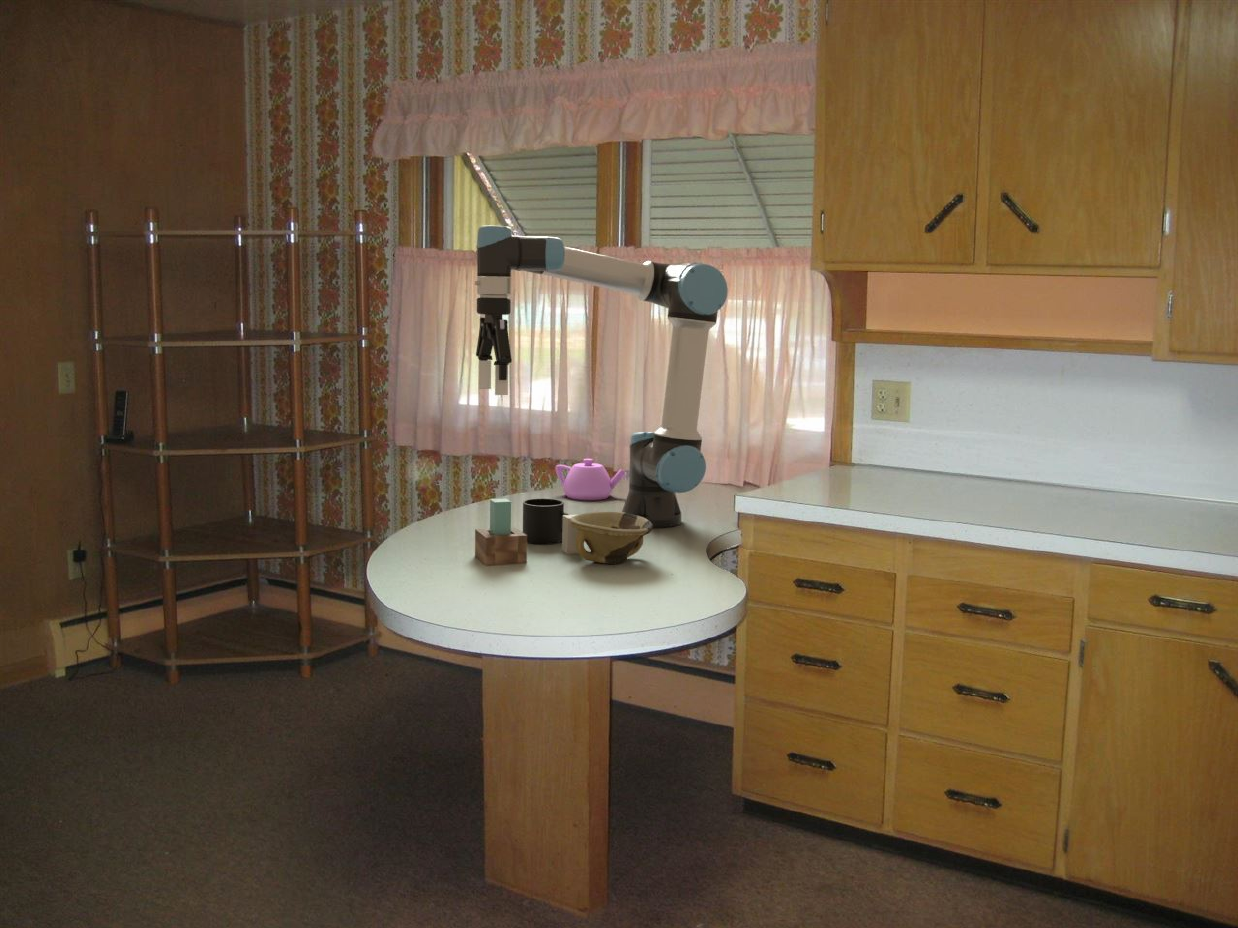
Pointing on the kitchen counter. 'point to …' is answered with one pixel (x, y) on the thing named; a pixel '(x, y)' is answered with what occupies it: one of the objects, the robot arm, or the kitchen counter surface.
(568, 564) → the kitchen counter surface
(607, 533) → the bowl
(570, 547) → the peg mid
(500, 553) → the socket block
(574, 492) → the teapot
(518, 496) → the kitchen counter surface
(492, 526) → the peg long
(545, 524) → the mug
